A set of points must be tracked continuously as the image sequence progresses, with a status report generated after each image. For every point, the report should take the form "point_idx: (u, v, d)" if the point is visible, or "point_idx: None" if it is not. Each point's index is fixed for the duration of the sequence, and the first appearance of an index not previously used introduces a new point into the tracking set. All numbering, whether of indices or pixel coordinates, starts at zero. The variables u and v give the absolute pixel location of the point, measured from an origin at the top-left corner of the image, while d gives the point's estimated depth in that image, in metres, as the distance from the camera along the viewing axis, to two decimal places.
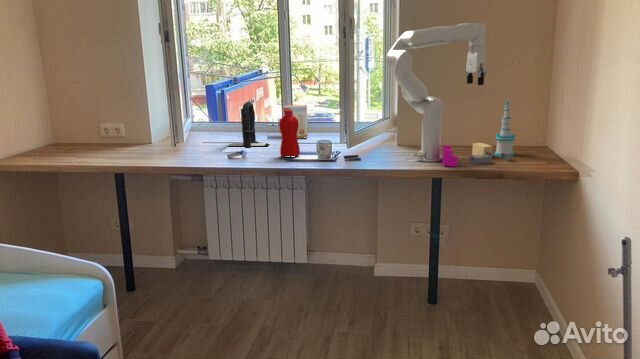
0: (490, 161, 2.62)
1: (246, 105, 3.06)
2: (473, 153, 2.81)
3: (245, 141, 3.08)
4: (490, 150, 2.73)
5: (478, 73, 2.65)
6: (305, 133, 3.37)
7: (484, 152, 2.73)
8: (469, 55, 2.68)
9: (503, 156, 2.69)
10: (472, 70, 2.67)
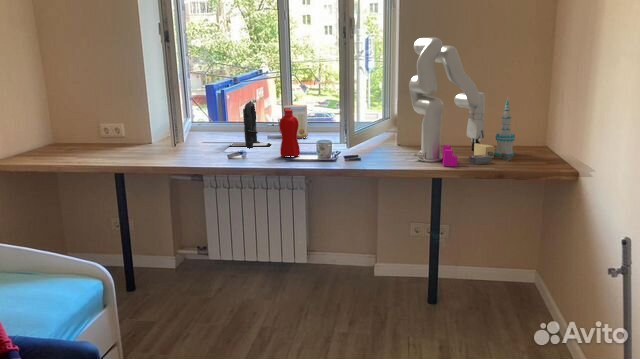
0: (490, 161, 2.62)
1: (248, 105, 3.05)
2: (475, 153, 2.80)
3: (247, 141, 3.08)
4: (492, 150, 2.72)
5: (474, 140, 2.81)
6: (305, 133, 3.37)
7: (486, 152, 2.71)
8: (469, 122, 2.81)
9: (503, 156, 2.69)
10: (472, 136, 2.80)
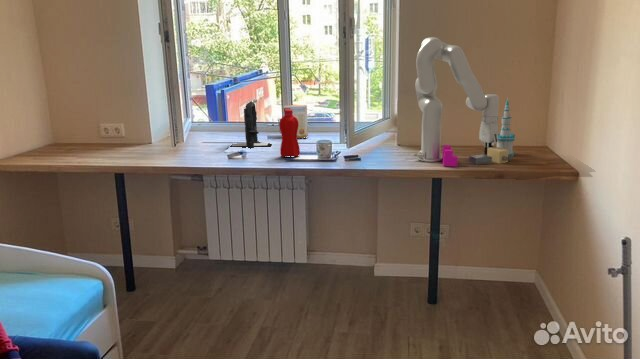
0: (490, 161, 2.62)
1: (249, 105, 3.05)
2: None
3: (248, 141, 3.08)
4: (506, 155, 2.61)
5: (487, 144, 2.70)
6: (305, 133, 3.37)
7: (500, 157, 2.60)
8: (482, 125, 2.70)
9: None
10: (485, 140, 2.69)
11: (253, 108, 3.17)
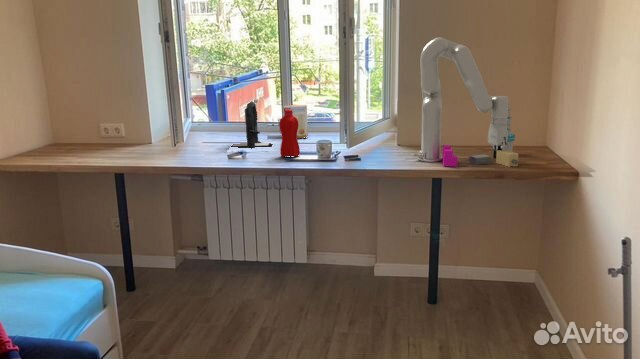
0: (490, 161, 2.62)
1: (250, 105, 3.05)
2: (497, 161, 2.62)
3: (249, 141, 3.08)
4: (516, 158, 2.54)
5: (496, 147, 2.63)
6: (305, 133, 3.37)
7: (510, 160, 2.53)
8: (491, 127, 2.63)
9: None
10: (494, 143, 2.62)
11: (254, 108, 3.17)
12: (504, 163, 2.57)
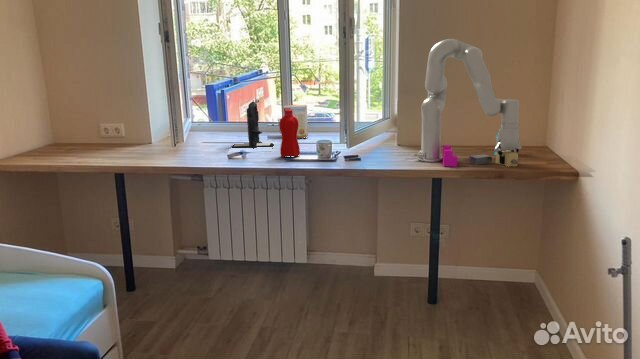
0: (490, 161, 2.62)
1: (252, 105, 3.05)
2: (497, 161, 2.62)
3: (251, 141, 3.08)
4: (516, 158, 2.54)
5: (500, 151, 2.58)
6: (305, 133, 3.37)
7: (509, 160, 2.53)
8: None
9: None
10: None
11: (255, 108, 3.17)
12: None
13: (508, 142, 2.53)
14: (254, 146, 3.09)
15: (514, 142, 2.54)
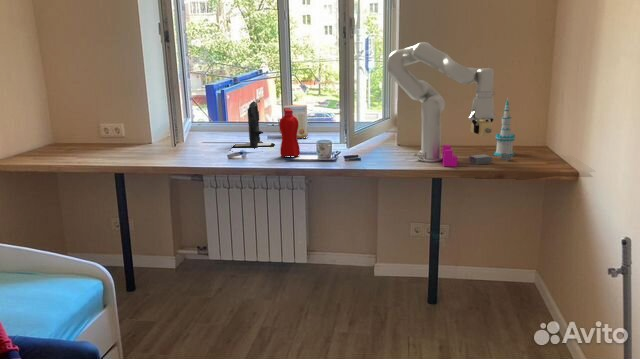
0: (490, 161, 2.62)
1: (253, 105, 3.05)
2: (471, 130, 2.63)
3: (252, 141, 3.08)
4: (490, 127, 2.55)
5: None
6: (305, 133, 3.37)
7: (483, 129, 2.55)
8: None
9: (503, 156, 2.69)
10: None
11: (256, 108, 3.17)
12: None
13: (482, 111, 2.55)
14: (255, 146, 3.09)
15: (488, 111, 2.56)
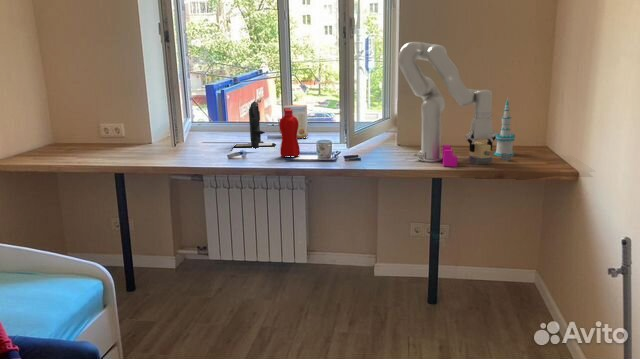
0: (490, 161, 2.62)
1: (254, 105, 3.05)
2: (470, 153, 2.66)
3: (253, 141, 3.08)
4: (488, 149, 2.58)
5: None
6: (305, 133, 3.37)
7: (482, 152, 2.57)
8: None
9: (503, 156, 2.69)
10: None
11: (256, 108, 3.17)
12: (477, 155, 2.61)
13: (481, 132, 2.57)
14: (256, 146, 3.09)
15: (487, 132, 2.58)
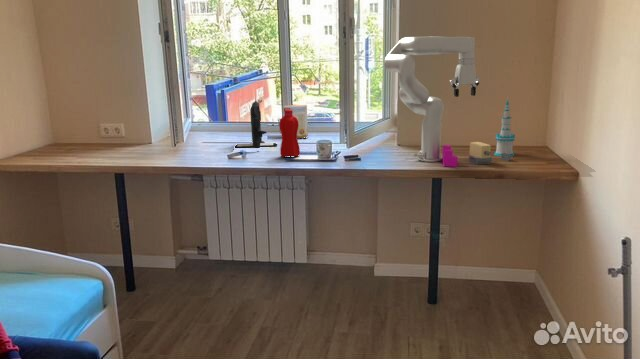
0: (490, 161, 2.62)
1: (255, 105, 3.05)
2: (470, 153, 2.66)
3: (255, 141, 3.08)
4: (488, 149, 2.58)
5: None
6: (305, 133, 3.37)
7: (482, 152, 2.57)
8: None
9: (503, 156, 2.69)
10: None
11: (257, 108, 3.17)
12: (477, 155, 2.61)
13: (465, 77, 2.72)
14: (258, 146, 3.09)
15: (470, 77, 2.73)
